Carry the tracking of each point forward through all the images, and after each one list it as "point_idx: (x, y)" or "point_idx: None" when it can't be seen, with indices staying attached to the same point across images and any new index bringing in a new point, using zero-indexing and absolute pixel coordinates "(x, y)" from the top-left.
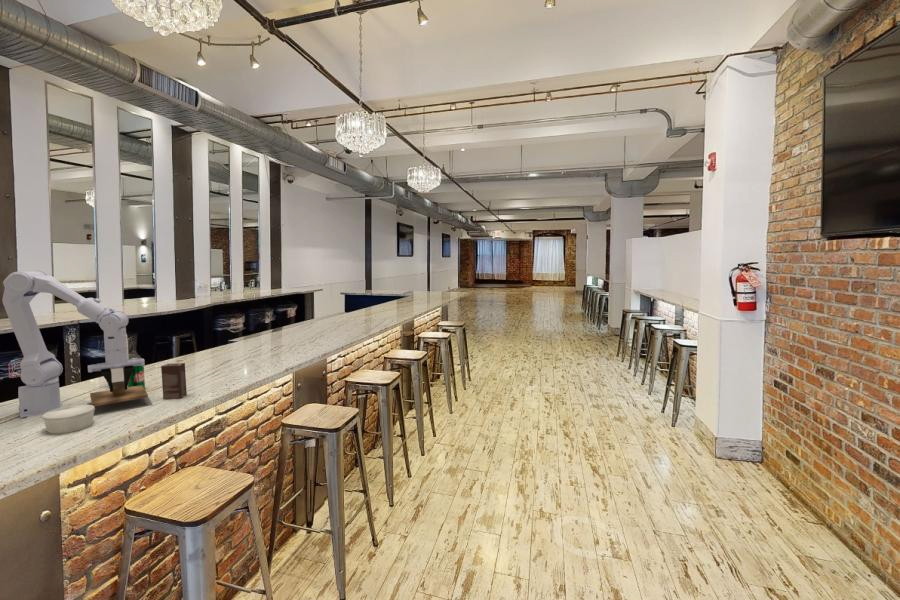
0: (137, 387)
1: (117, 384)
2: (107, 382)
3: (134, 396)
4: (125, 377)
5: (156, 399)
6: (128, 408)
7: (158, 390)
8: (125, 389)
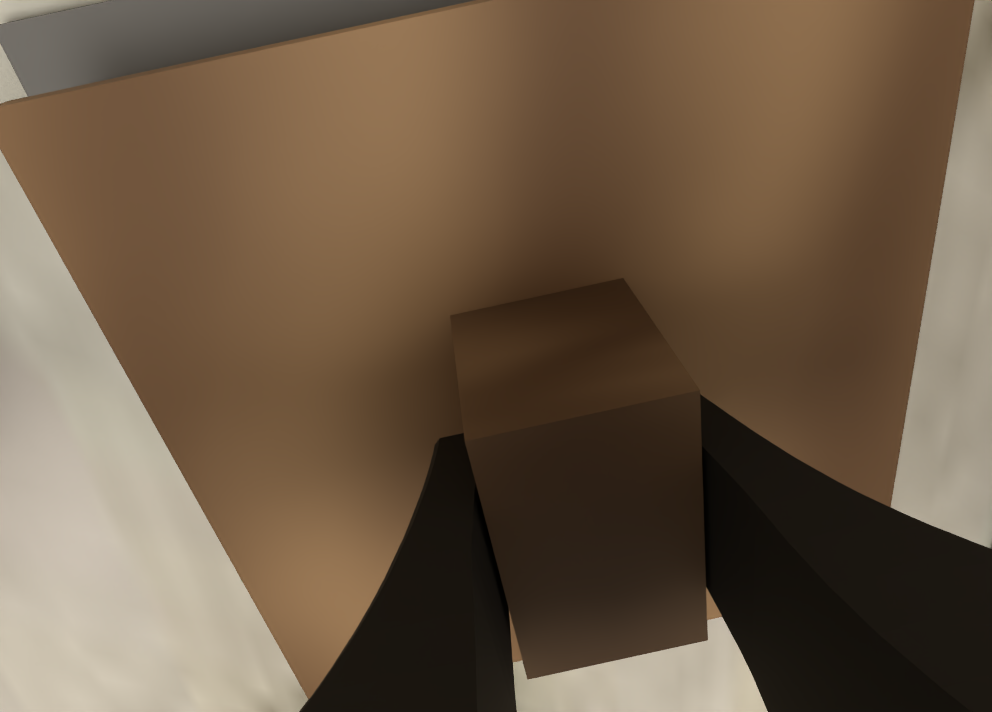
0: (346, 631)
1: (613, 485)
2: (847, 488)
3: (247, 99)
4: (459, 621)
5: (106, 397)
6: (373, 18)
7: (210, 697)
8: (460, 435)
